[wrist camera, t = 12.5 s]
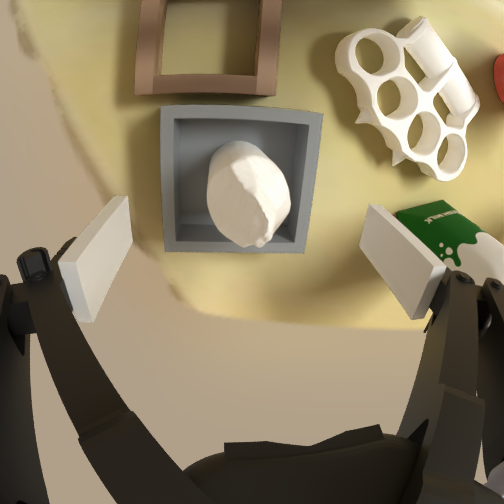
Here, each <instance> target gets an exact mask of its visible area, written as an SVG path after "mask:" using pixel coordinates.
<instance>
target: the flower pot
mask: <svg viewBox="0 0 504 504" xmlns="http://www.w3.org/2000/svg"><path fill="white" fill-rule="evenodd" d="M494 82H495V87H496V90H497V93H498V95H499V97H500V99H501V101H502V102H503V103H504V54H501V55H499V56H498V58H497V59H496V61H495V64H494Z"/></svg>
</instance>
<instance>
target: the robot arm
mask: <svg viewBox="0 0 504 504" xmlns="http://www.w3.org/2000/svg"><path fill="white" fill-rule="evenodd" d="M132 243H133V239H132V231H131V222H130V213H129V203H128V195H127V196H114V197H113V198H112V199H111V200H110V201H109V202H108V203H107V204H106V206H105V207H104V208H103V209H102V210H101V211H100V212H99V213H98V214H97V215H96V217H95V218H94V219H93V220H92V221H91V222H90V223H89V224H88V226H87V227H86V228H85V229H84V230H83V231H82V233H81V234H80V235H79V236H78V237H73V238H72V239H70V240H69V241H67V242H66V243H65V244H64V245H63V247H62V248H61V250H59V251H58V252H57V255H55V256H54V257H53V258H52V260H51V261H50V257H49V254H48V250H46V248H43V247H37V248H32V249H29V250H27V251H25V252H23V253H22V254H21V255H20V256H19V257H18V259H17V265H18V268H19V271H20V274H21V277H22V280H23V283H18V284H12V285H10V282H9V279H8V277H7V276H6V275H2V274H1V275H0V504H49V499H48V495H47V490H46V486H45V482H44V478H43V474H42V469H41V465H40V459H39V454H38V448H37V442H36V436H35V429H34V421H33V412H32V400H31V386H30V334H33V333H37V336H38V340H39V343H40V346H41V349H42V351H43V354H44V357H45V360H46V363H47V366H48V368H49V371H50V373H51V376H52V378H53V381H54V383H55V386H56V388H57V390H58V393H59V395H60V398H61V400H62V402H63V404H64V406H65V408H66V411H67V413H68V415H69V417H70V419H71V421H72V423H73V425H74V427H75V429H76V431H77V433H78V435H79V438H78V441H79V444H80V445H81V447H82V449H83V451H84V453H85V455H86V457H87V458H88V460H89V462H90V463H91V465H92V467H93V468H94V470H95V472H96V473H97V475H98V476H99V478H100V479H101V481H102V482H103V484H104V485H105V487H106V488H107V490H108V491H109V493H110V494H111V496H112V497H113V498H114V500H115V501H116V503H117V504H504V285H503V284H502V283H501V281H499V280H498V279H494V278H490V277H488V278H486V280H485V282H484V284H483V286H479V285H475V281H474V280H473V278H472V277H470V276H469V275H468V274H466V273H464V272H462V271H458V270H454V271H451V270H450V269H449V268H448V267H447V266H446V265H445V264H444V263H443V262H442V261H441V260H440V259H439V258H438V257H437V256H436V255H435V254H434V253H433V252H432V251H431V250H430V249H429V248H428V247H427V246H426V245H424V244H423V243H422V242H421V241H420V240H419V239H418V238H417V237H416V236H415V235H414V234H413V233H412V232H410V231H409V230H408V229H407V228H406V227H405V226H404V225H403V224H402V223H400V222H399V221H398V220H397V219H396V218H395V217H394V216H393V215H391V214H390V213H389V212H388V211H387V210H386V209H384V208H383V207H382V206H381V205H376V204H369V205H368V210H367V214H366V219H365V223H364V227H363V231H362V235H361V240H360V244H359V248H360V249H361V250H362V252H363V253H364V254H365V255H366V257H367V258H368V259H369V261H370V262H371V263H372V265H373V266H374V268H375V269H376V270H377V272H378V273H379V274H380V276H381V277H382V278H383V280H384V281H385V283H386V284H387V285H388V287H389V288H390V290H391V291H392V293H393V294H394V295H395V297H396V298H397V300H398V301H399V303H400V304H401V305H402V307H403V308H404V310H405V311H406V313H407V314H408V316H409V317H410V319H411V320H415V319H423V318H424V317H425V315H426V313H427V311H428V309H429V307H430V309H431V310H432V311H433V314H432V316H431V318H430V320H429V322H428V324H427V326H426V328H425V330H424V333H426V331H427V330H428V331H427V335H426V340H425V344H424V349H423V353H422V357H421V361H420V364H419V368H418V372H417V375H416V379H415V382H414V386H413V389H412V393H411V396H410V399H409V402H408V405H407V408H406V411H405V414H404V416H403V419H402V422H401V425H400V427H399V430H398V432H397V434H396V435H391V434H383V433H382V430H381V428H380V425H379V424H377V425H373V426H369V427H364V428H360V429H355V430H349V431H345V432H343V433H341V434H339V435H336V436H334V437H332V438H330V439H327V440H324V441H322V442H320V443H317V444H315V445H312V446H300V445H290V444H282V443H274V442H268V441H263V442H262V441H261V442H234V443H224V452H222V453H218V454H214V455H211V456H208V457H205V458H203V459H201V460H199V461H197V462H195V463H193V464H192V465H190V466H189V467H187V468H186V469H185V470H183V471H182V470H181V469H180V468H179V467H178V465H177V464H176V463H175V462H174V461H173V460H172V459H171V458H170V457H169V455H168V454H167V453H166V452H165V451H164V449H163V448H162V447H161V446H160V445H159V444H158V442H157V441H156V440H155V438H154V437H153V436H152V435H151V433H149V431H148V430H147V429H146V427H145V426H144V424H143V423H142V422H141V421H140V419H139V418H138V417H137V415H136V414H135V413H134V412H133V411H130V409H129V408H128V407H127V405H126V404H125V403H124V401H123V400H122V398H121V397H120V395H119V394H118V392H117V391H116V389H115V388H114V386H113V385H112V383H111V381H110V380H109V378H108V377H107V375H106V374H105V372H104V370H103V369H102V367H101V365H100V364H99V362H98V360H97V359H96V357H95V355H94V353H93V352H92V350H91V348H90V346H89V344H88V343H87V341H86V339H85V337H84V335H83V333H82V331H81V330H80V328H79V326H78V324H77V322H76V320H77V321H78V322H86V323H94V320H95V319H96V316H97V314H98V312H99V309H100V307H101V305H102V303H103V301H104V299H105V297H106V294H107V292H108V290H109V288H110V286H111V284H112V282H113V280H114V278H115V276H116V274H117V272H118V270H119V268H120V266H121V264H122V262H123V260H124V258H125V256H126V254H127V252H128V250H129V248H130V247H131V245H132ZM72 311H73V312H74V315H75V317H76V320H75V318H74V316H73V314H72ZM490 322H491V323H490ZM489 324H490V325H489ZM488 325H489V327H488ZM476 391H477V396H478V397H477V396H476ZM481 441H482V446H483V460H484V466H485V474H486V478H487V483H485V484H484V485H482V484H480V483H479V482H477V481H475V480H474V477H475V473H476V468H477V463H478V458H479V453H480V447H481Z"/></svg>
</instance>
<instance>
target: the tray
mask: <svg viewBox="0 0 504 504" xmlns="http://www.w3.org/2000/svg"><path fill="white" fill-rule="evenodd" d="M322 121H323V114H321V113H316V112H310V111H303V110H295V109H285V108H275V107H262V106H247V105H222V104H176V105H164V106H161V115H160V164H161V197H162V217H163V233H164V246H165V252H225V253H304V251H305V245H306V239H307V233H308V226H309V220H310V213H311V207H312V200H313V193H314V186H315V178H316V171H317V163H318V155H319V147H320V139H321V130H322ZM231 141H244V142H249V143H251V144H253V145H255V146H257V147H258V148H259V149H260V150H261V151H262V152H263V153H264V154H265V155H266V156H267V157H268V158H269V159H270V160H271V161H273V162H274V163H275V164H276V166H277V167H278V168H279V169H280V170H281V172H282V173H283V175H284V178H285V180H286V183H287V186H288V189H289V196H290V201H291V206H290V211H289V213H288V215H287V216H286V218H285V219H284V221H283V222H282V223H281V224H280V226H279V227H278V228H277V230H276V231H275V232H274V234H273V236H272V239H271V240H270V241H268V242H266V243H265V245H264V246H263V247H261V248H258V247H256V246H255V245H250V246H247V247H241V246H239V245H238V244H236V243H235V242H233V241H232V240H230V239H228V238H227V237H225V236H224V235H223V234H222V233H221V232H220V231H219V230H218V229H217V227H216V225H215V223H214V222H213V220H212V217H211V215H210V212H209V209H208V205H207V184H208V175H209V164H210V161H211V158H212V156H213V154H214V153H215V151H216V150H217V149H218V148H219V147H221V146H222V145H224V144H226V143H229V142H231Z"/></svg>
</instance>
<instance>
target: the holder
mask: <svg viewBox="0 0 504 504" xmlns="http://www.w3.org/2000/svg"><path fill="white" fill-rule="evenodd" d="M282 1H283V0H260V1H259V13H258V25H257V38H256V51H255V65H254V76H248V75H228V74H177V75H161V64H162V50H163V38H164V27H165V17H166V8H167V0H142V3H141V10H140V18H139V28H138V38H137V50H136V64H135V85H134V95H156V94H180V93H221V94H245V95H261V96H275V94H276V82H277V69H278V56H279V42H280V29H281V15H282Z"/></svg>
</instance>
